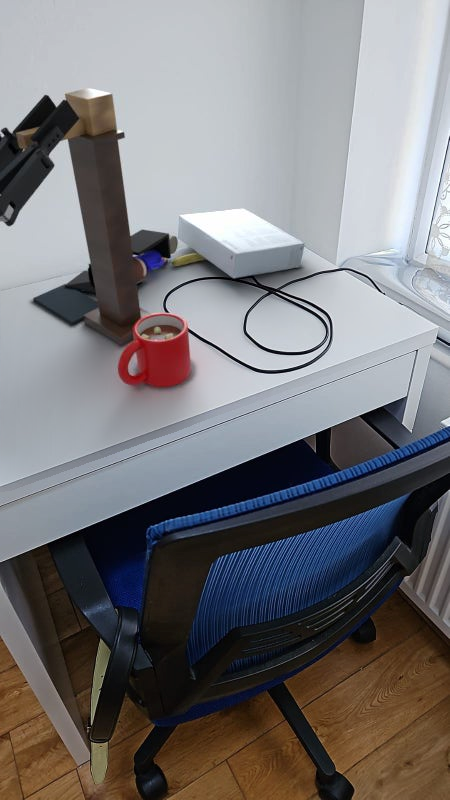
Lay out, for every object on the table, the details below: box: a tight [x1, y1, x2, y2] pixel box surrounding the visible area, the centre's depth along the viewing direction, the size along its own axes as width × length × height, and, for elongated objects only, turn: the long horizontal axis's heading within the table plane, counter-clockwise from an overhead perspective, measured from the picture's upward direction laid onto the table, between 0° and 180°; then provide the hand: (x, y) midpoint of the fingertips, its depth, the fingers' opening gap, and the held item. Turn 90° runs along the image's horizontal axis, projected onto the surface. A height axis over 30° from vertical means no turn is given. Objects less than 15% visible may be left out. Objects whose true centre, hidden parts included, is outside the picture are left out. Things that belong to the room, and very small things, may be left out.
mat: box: [32, 283, 99, 326], centre depth 103 cm, size 12×7×1 cm, turn 47°
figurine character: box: [130, 229, 179, 283], centre depth 110 cm, size 7×8×15 cm
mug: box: [117, 312, 192, 388], centre depth 84 cm, size 8×12×8 cm, turn 138°
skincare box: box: [177, 208, 306, 279], centre depth 114 cm, size 21×5×16 cm
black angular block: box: [65, 262, 143, 295], centre depth 106 cm, size 12×7×5 cm, turn 69°
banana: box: [171, 252, 208, 267], centre depth 113 cm, size 8×2×4 cm
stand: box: [67, 129, 152, 346], centre depth 88 cm, size 8×10×31 cm
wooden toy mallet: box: [16, 87, 118, 151], centre depth 74 cm, size 13×5×4 cm, turn 137°
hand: (62, 106), depth 74 cm, fingers open, 3 cm apart
